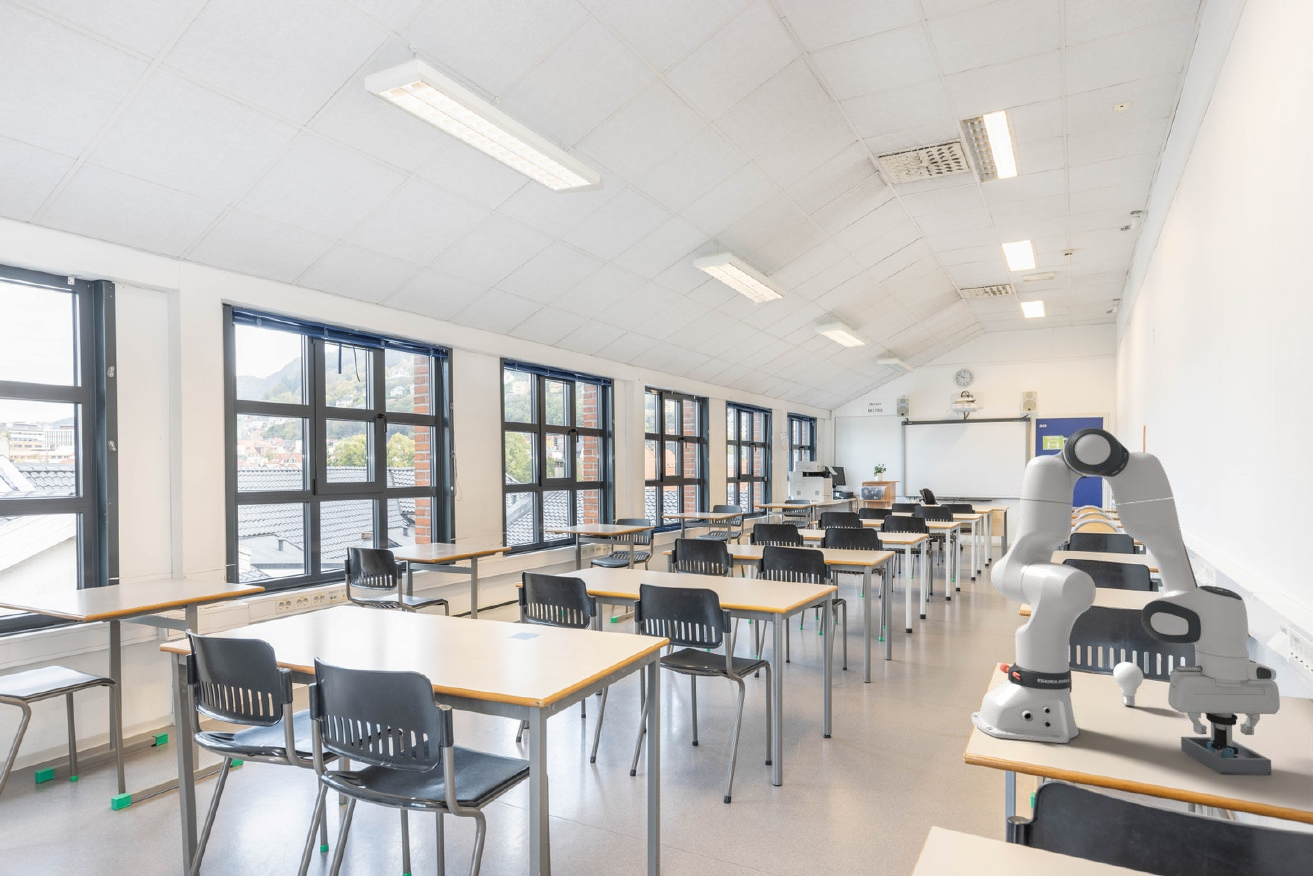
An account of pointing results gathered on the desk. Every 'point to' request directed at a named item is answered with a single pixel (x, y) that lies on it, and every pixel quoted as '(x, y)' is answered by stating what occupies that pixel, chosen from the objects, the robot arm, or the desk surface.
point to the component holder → (1226, 766)
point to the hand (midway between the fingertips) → (1223, 733)
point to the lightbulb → (1128, 681)
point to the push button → (1222, 735)
